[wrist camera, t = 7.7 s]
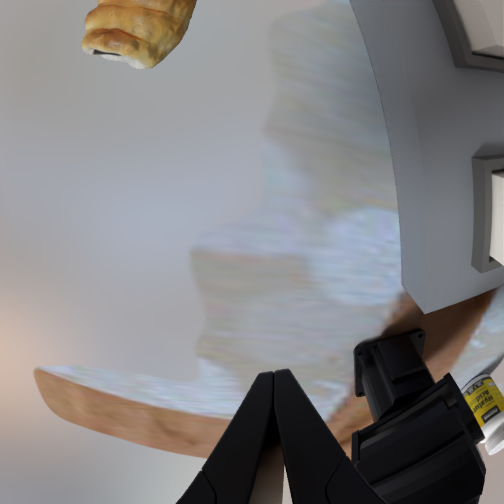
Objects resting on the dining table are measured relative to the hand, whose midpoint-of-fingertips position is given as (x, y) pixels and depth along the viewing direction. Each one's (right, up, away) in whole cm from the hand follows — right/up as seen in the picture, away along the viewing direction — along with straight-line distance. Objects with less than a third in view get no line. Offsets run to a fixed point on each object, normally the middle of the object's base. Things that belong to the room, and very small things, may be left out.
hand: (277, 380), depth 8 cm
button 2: (+13, +17, +1) cm, 21 cm away
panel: (+14, +13, +7) cm, 21 cm away
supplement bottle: (+27, -13, +18) cm, 35 cm away
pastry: (-7, +19, +6) cm, 21 cm away
